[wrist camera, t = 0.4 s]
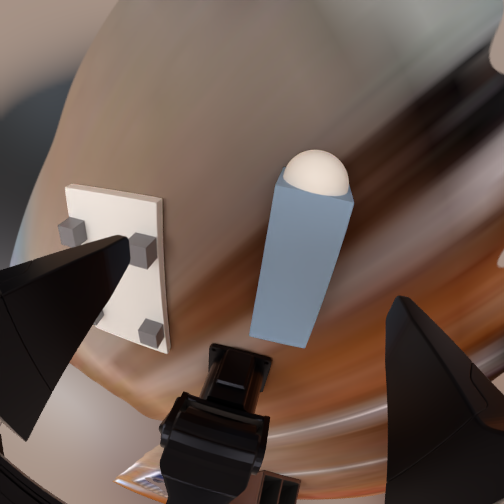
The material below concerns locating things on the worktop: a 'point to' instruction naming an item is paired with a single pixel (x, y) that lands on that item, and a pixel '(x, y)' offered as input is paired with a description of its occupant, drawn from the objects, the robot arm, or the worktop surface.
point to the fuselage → (301, 246)
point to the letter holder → (269, 489)
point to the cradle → (141, 263)
